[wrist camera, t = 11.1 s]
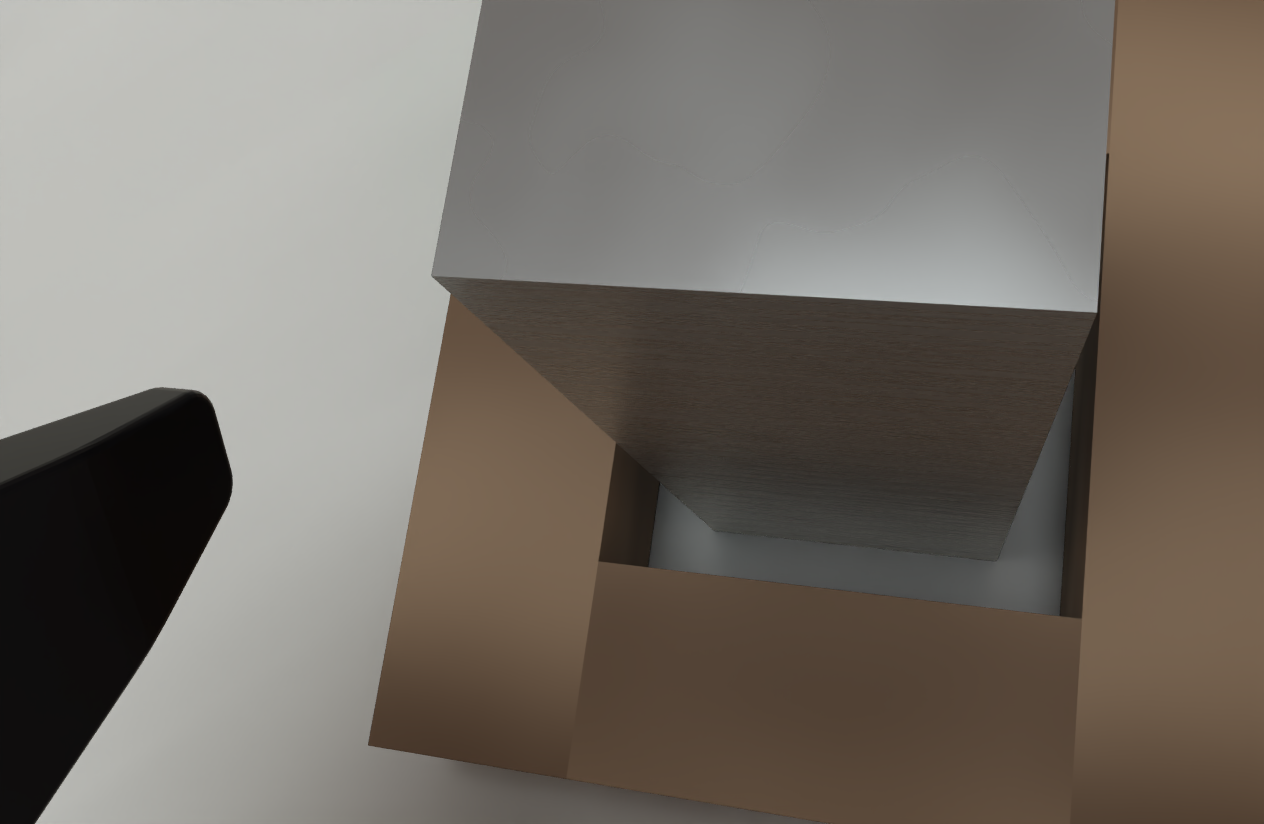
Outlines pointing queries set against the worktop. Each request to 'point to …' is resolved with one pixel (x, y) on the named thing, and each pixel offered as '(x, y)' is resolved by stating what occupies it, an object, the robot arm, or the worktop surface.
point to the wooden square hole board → (885, 625)
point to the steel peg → (795, 244)
